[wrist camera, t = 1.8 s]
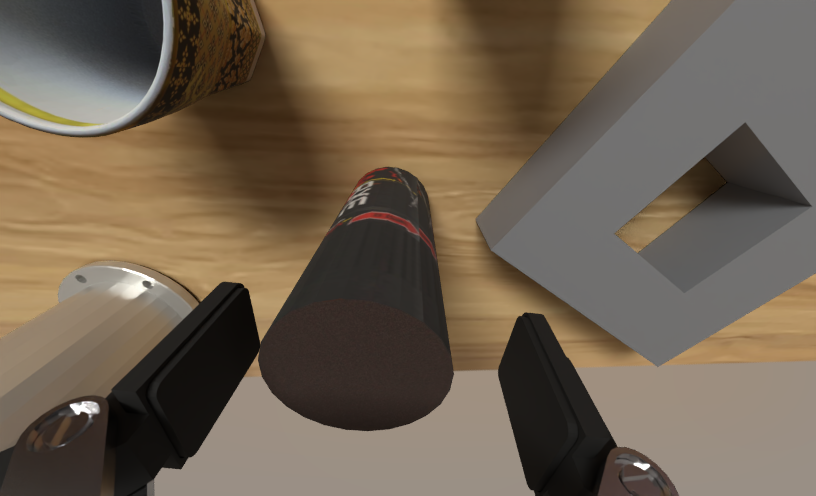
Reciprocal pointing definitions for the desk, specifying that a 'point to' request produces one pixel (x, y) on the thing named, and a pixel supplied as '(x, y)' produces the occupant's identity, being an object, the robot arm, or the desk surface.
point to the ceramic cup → (119, 59)
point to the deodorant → (366, 316)
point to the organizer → (677, 177)
